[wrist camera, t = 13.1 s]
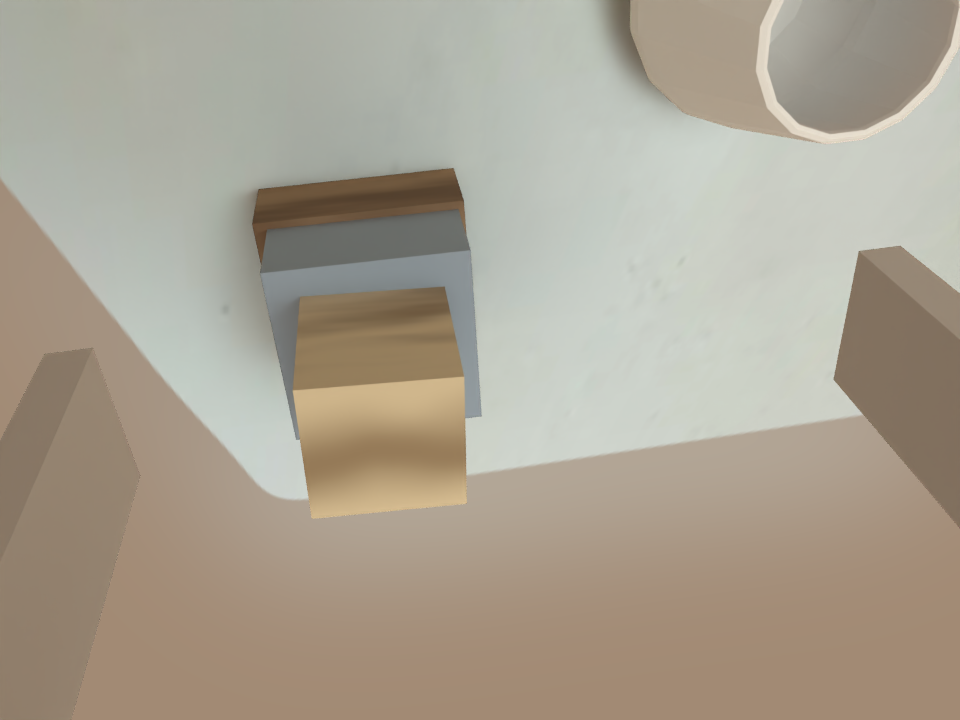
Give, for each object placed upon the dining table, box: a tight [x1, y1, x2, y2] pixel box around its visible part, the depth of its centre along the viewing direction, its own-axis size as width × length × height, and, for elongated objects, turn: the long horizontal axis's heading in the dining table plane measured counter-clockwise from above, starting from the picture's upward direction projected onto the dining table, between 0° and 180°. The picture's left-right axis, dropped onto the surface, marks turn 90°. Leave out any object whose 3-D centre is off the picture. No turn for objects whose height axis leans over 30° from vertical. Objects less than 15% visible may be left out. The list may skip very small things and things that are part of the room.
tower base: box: [252, 168, 466, 265], centre depth 50 cm, size 11×11×5 cm
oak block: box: [293, 286, 467, 519], centre depth 41 cm, size 7×7×8 cm
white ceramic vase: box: [630, 0, 960, 144], centre depth 40 cm, size 13×13×14 cm
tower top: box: [260, 209, 482, 440], centre depth 46 cm, size 10×10×5 cm
